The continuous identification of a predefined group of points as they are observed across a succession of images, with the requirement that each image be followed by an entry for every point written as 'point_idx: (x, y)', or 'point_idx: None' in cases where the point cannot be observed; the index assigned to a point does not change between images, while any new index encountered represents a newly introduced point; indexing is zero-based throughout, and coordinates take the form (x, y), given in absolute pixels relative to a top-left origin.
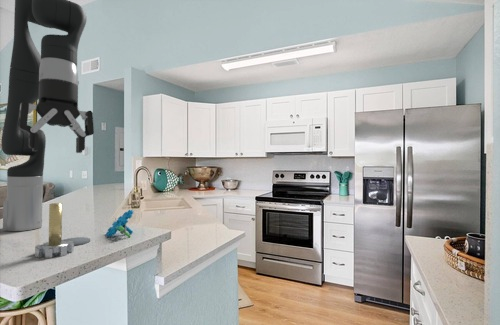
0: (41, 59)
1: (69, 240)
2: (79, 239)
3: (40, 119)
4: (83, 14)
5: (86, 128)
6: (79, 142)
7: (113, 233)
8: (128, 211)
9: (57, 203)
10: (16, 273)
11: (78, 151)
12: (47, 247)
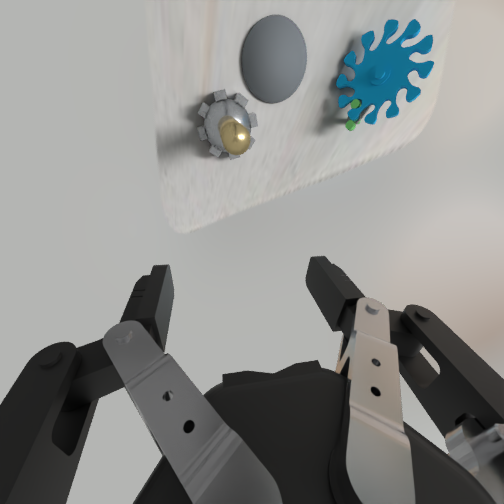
0: None
1: (271, 44)
2: (288, 55)
3: (159, 449)
4: None
5: (431, 349)
6: (322, 310)
7: (339, 106)
8: (422, 70)
9: (241, 134)
10: (172, 193)
11: (306, 281)
12: (214, 139)
